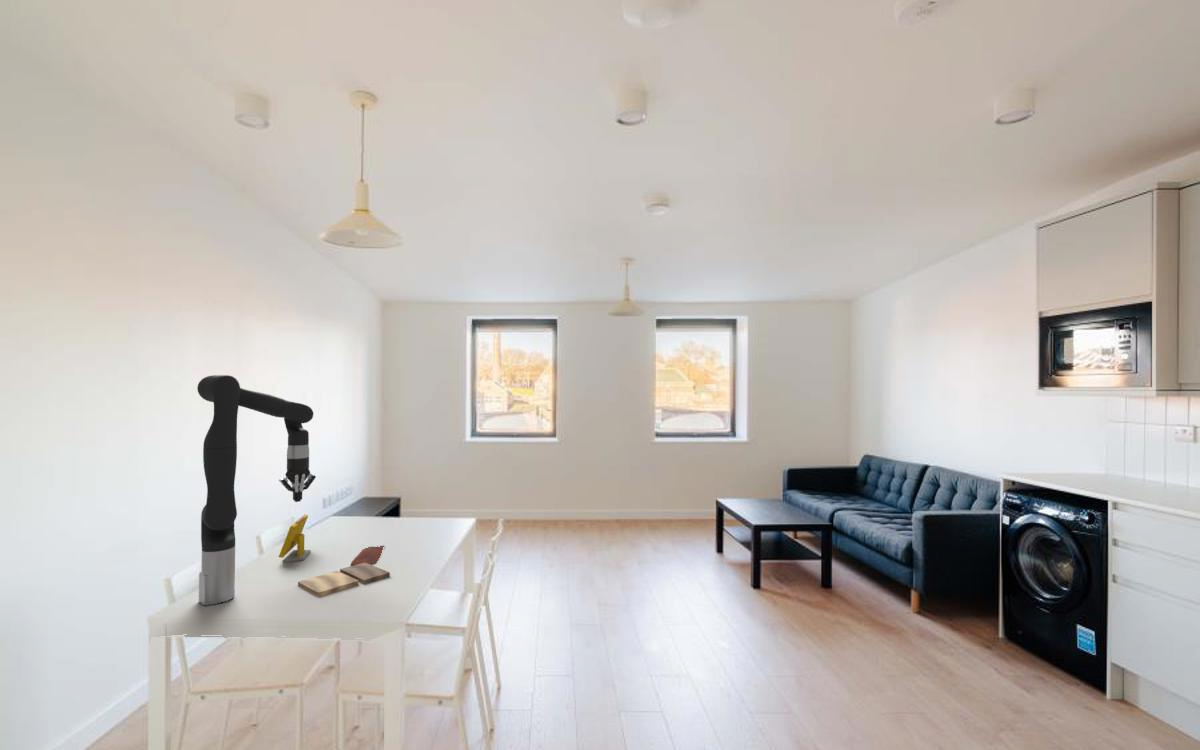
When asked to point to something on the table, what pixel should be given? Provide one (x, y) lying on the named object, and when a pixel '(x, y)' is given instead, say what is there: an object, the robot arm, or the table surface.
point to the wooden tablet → (368, 556)
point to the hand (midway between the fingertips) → (297, 501)
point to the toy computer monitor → (295, 542)
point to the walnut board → (365, 573)
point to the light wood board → (327, 583)
